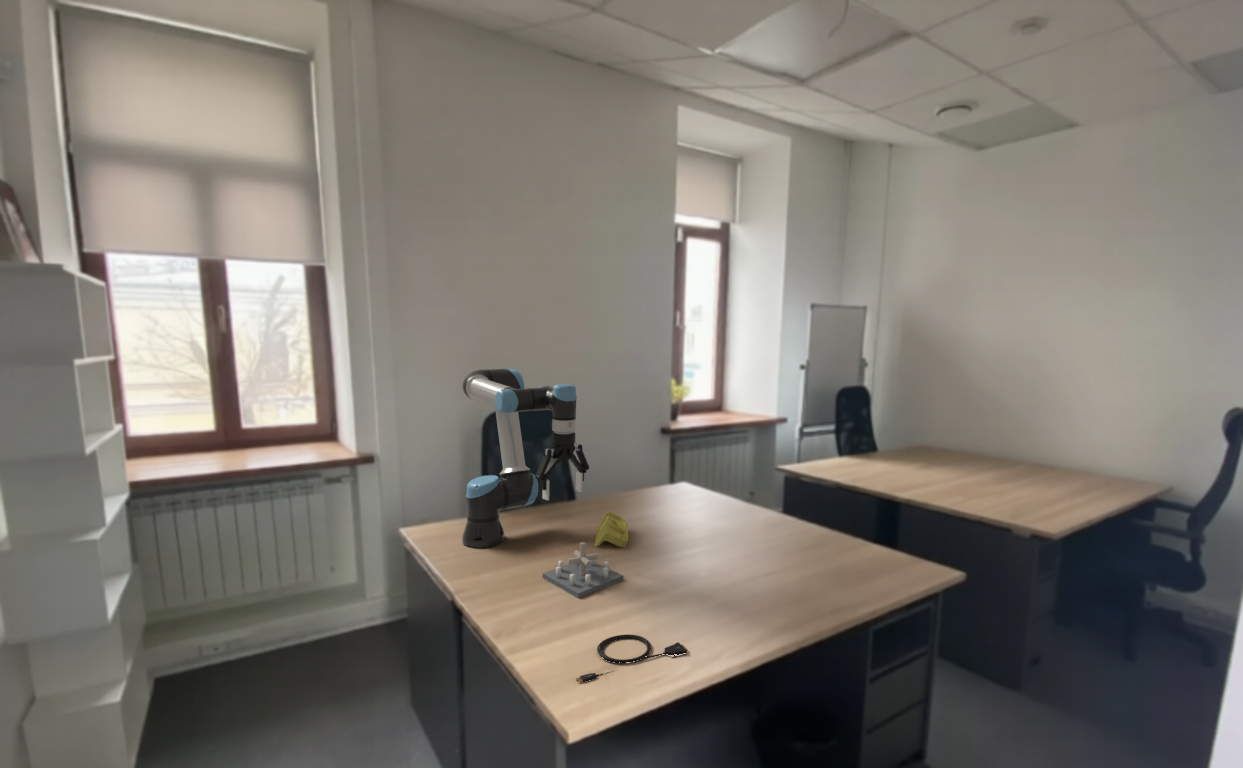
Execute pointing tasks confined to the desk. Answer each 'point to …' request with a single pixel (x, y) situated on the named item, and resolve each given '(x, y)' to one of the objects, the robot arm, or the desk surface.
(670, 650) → the cable
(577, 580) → the grey peg board
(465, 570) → the desk surface
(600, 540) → the plastic component
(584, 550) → the pipe connector
